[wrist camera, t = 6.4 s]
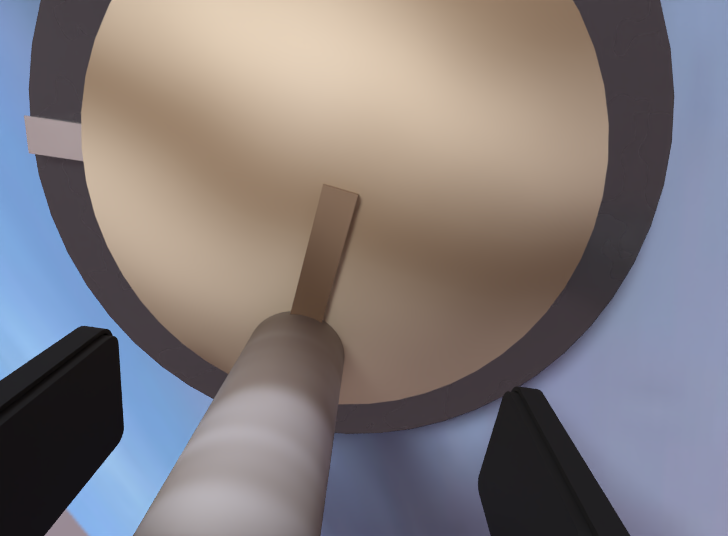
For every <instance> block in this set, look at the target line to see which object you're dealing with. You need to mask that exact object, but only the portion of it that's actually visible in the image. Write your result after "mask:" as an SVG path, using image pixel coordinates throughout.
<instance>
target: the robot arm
mask: <svg viewBox="0 0 728 536" xmlns="http://www.w3.org/2000/svg"><path fill="white" fill-rule="evenodd" d="M123 431H124V422H123V406H122V391H121V376H120V360H119V345H118V339H117V338H116V337H115V336H112V333H111V331H110V330H108V329H102V328H95V327H88V326H81V327H79V328H77V329H75V330H74V331H72V332H71V333H69V334H68V335H67V336H65V337H64V338H62V339H61V340H59V341H58V342H56V343H55V344H53V345H52V346H50V347H49V348H48V349H46V350H45V351H43V352H42V353H40V354H39V355H37V356H36V357H34V358H33V359H31V360H30V361H28V362H27V363H26V364H24V365H23V366H21V367H20V368H18V369H17V370H15V371H14V372H12V373H11V374H9V375H8V376H7V377H5V378H4V379H2V380H1V381H0V536H44V535H45V534H46V533H47V532H48V530H49V529H50V528H51V527H52V525H53V524H54V523H55V522H56V520H57V519H58V518H59V517H60V515H61V514H62V513H63V512H64V511H65V509H66V508H67V507H68V506H69V504H70V503H71V502H72V501H73V499H74V498H75V497H76V496H77V494H78V493H79V492H80V491H81V489H82V488H83V487H84V486H85V484H86V483H87V482H88V481H89V480H90V478H91V477H92V476H93V475H94V473H95V472H96V471H97V470H98V468H99V467H100V466H101V465H102V463H103V462H104V461H105V460H106V458H107V457H108V456H109V455H110V453H111V452H112V451H113V450H114V449H115V447H116V446H117V445H118V443H119V442H120V440H121V438H122V435H123ZM478 490H479V495H480V498H481V502H482V505H483V509H484V513H485V516H486V520H487V523H488V527H489V531H490V534H491V536H630V534H629V533H628V531H627V530H626V528H625V526H624V525H623V523H622V521H621V520H620V518H619V517H618V515H617V513H616V512H615V510H614V508H613V507H612V505H611V504H610V502H609V500H608V499H607V497H606V495H605V494H604V492H603V491H602V489H601V487H600V486H599V484H598V482H597V481H596V479H595V478H594V476H593V474H592V473H591V471H590V469H589V468H588V466H587V465H586V463H585V461H584V460H583V458H582V456H581V455H580V453H579V451H578V450H577V448H576V447H575V445H574V443H573V442H572V440H571V438H570V437H569V435H568V434H567V432H566V430H565V429H564V427H563V425H562V424H561V422H560V421H559V419H558V417H557V416H556V414H555V412H554V411H553V409H552V408H551V406H550V404H549V403H548V401H547V399H546V398H545V396H544V395H543V393H542V392H541V391H540V390H538V389H531V388H524V387H517V386H516V387H514V388H513V389H512V391H511V392H509V391H507V392H505V394H504V396H503V399H502V402H501V405H500V408H499V412H498V415H497V418H496V421H495V425H494V428H493V431H492V435H491V438H490V441H489V444H488V448H487V451H486V454H485V457H484V461H483V464H482V467H481V471H480V474H479V478H478Z"/></svg>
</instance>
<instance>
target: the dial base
mask: <svg viewBox="0 0 728 536" xmlns="http://www.w3.org/2000/svg"><path fill="white" fill-rule="evenodd" d="M573 1H574V3H575V5H576V6H577V8H578V10H579V12H580V14H581V17H582V19H583V21H584V24H585V26H586V29H587V31H588V34H589V36H590V38H591V41H592V43H593V46H594V48H595V52H596V56H597V60H598V64H599V67H600V71H601V75H602V79H603V83H604V88H605V96H606V105H607V113H608V122H609V134H608V164H607V171H606V178H605V185H604V192H603V197H602V201H601V204H600V208H599V211H598V215H597V218H596V222H595V226H594V229H593V231H592V234H591V236H590V239H589V241H588V243H587V246H586V248H585V250H584V253H583V255H582V258H581V260H580V262H579V263H578V265H577V267H576V269H575V270H574V272H573V274H572V276H571V277H570V279H569V281H568V283H567V284H566V286H565V288H564V289H563V291H562V292H561V293H560V295H559V296H558V297H557V299H556V300H555V301H554V303H553V304H552V305H551V307H550V308H549V309H548V311H547V312H546V313H545V314H544V315H543V316H542V317H541V319H540V320H539V321H538V322H537V323H536V324H535V325H534V326H533V327H532V328H531V329H530V330H529V331H528V332H527V333H526V334H525V335H524V336H523V337H522V338H521V339H520V340H518V341H517V342H516V343H515V344H514V345H512V346H511V347H510V348H509V349H508V350H506V351H505V352H504V353H503V354H502V355H500V356H499V357H497V358H496V359H494V360H492V361H491V362H489V363H488V364H486V365H485V366H483V367H482V368H480V369H479V370H477V371H475V372H473V373H471V374H469V375H467V376H465V377H463V378H461V379H459V380H457V381H455V382H453V383H451V384H449V385H446V386H443V387H441V388H438V389H435V390H432V391H430V392H427V393H424V394H420V395H416V396H412V397H408V398H404V399H400V400H395V401H387V402H379V403H372V404H338V410H337V417H336V425H335V432H334V433H344V434H355V433H383V432H390V431H398V430H406V429H413V428H417V427H421V426H425V425H429V424H433V423H437V422H441V421H445V420H448V419H451V418H453V417H456V416H459V415H462V414H465V413H467V412H470V411H473V410H476V409H478V408H480V407H482V406H484V405H486V404H488V403H490V402H492V401H494V400H496V399H498V398H500V397H502V396H504V394H505V392H507V391H509V392H511V391H512V389H513V388H514V387H516V386H517V387H519V386H520V385H522V384H524V383H525V382H527V381H528V380H530V379H531V378H533V377H535V376H536V375H537V374H539V373H540V372H541V371H542V370H544V369H545V368H546V367H547V366H549V365H550V364H551V363H552V362H554V361H555V360H556V359H557V358H558V357H560V356H561V355H562V354H563V353H565V352H566V350H567V349H568V348H569V347H570V346H571V345H572V344H573V343H574V342H575V341H576V340H577V339H578V338H579V337H580V336H581V335H582V334H583V333H584V332H585V331H586V330H587V329H588V328H589V327H590V326H591V325H592V323H593V322H594V321H595V320H596V318H597V317H598V316H599V315H600V313H601V312H602V311H603V309H604V308H605V307H606V306H607V304H608V303H609V302H610V300H611V299H612V298H613V297H614V295H615V293H616V292H617V290H618V288H619V287H620V285H621V283H622V282H623V280H624V279H625V277H626V275H627V274H628V272H629V270H630V269H631V267H632V265H633V264H634V262H635V260H636V257H637V255H638V253H639V251H640V249H641V246H642V244H643V242H644V240H645V238H646V235H647V233H648V231H649V229H650V227H651V224H652V221H653V218H654V214H655V211H656V208H657V205H658V202H659V199H660V195H661V192H662V189H663V186H664V181H665V176H666V170H667V165H668V159H669V154H670V148H671V143H672V127H673V108H674V87H673V74H672V62H671V49H670V44H669V39H668V35H667V30H666V26H665V21H664V16H663V12H662V7H661V3H660V0H573ZM110 2H111V0H41V2H40V7H39V12H38V17H37V22H36V27H35V32H34V37H33V41H32V51H31V66H30V81H29V100H30V116H24V118H25V126H26V134H27V142H28V150H29V153H31V154H35V156H36V161H37V167H38V172H39V177H40V180H41V183H42V187H43V190H44V193H45V196H46V199H47V203H48V206H49V209H50V212H51V216H52V218H53V220H54V222H55V225H56V227H57V229H58V231H59V234H60V236H61V238H62V241H63V243H64V245H65V247H66V250H67V252H68V254H69V255H70V257H71V259H72V261H73V262H74V264H75V266H76V267H77V269H78V271H79V273H80V274H81V276H82V278H83V279H84V281H85V283H86V285H87V286H88V287H89V289H90V290H91V291H92V293H93V294H94V296H95V297H96V298H97V300H98V301H99V302H100V304H101V305H102V306H103V308H104V309H105V310H106V312H107V313H108V314H109V316H110V317H111V318H112V319H113V320H114V321H115V322H116V323H117V324H118V325H119V327H120V328H121V329H122V330H123V331H124V332H125V333H126V334H127V335H128V336H129V337H130V338H131V340H132V341H133V342H134V343H135V344H137V345H138V346H139V347H140V348H141V349H142V350H143V351H145V352H146V353H147V354H148V355H149V356H150V357H151V358H153V359H154V360H155V361H156V362H157V363H158V364H160V365H161V366H162V367H163V368H165V369H166V370H168V371H169V372H171V373H172V374H173V375H175V376H176V377H178V378H179V379H181V380H182V381H183V382H185V383H186V384H188V385H189V386H191V387H193V388H194V389H196V390H198V391H200V392H202V393H204V394H205V395H207V396H209V397H211V398H213V399H214V398H215V396H216V395H217V393H218V391H219V389H220V388H221V386H222V384H223V383H224V381H225V379H226V378H227V376H228V373H226V372H224V371H222V370H221V369H219V368H217V367H215V366H214V365H212V364H210V363H208V362H207V361H205V360H204V359H203V358H201V357H200V356H199V355H197V354H196V353H194V352H193V351H192V350H190V349H189V348H188V347H186V346H185V345H184V344H182V343H181V342H180V341H179V340H178V339H177V338H176V337H175V336H174V335H173V334H171V333H170V332H169V331H168V330H167V329H166V328H165V327H164V326H163V325H162V324H161V323H160V322H159V321H158V320H157V319H156V318H155V317H154V315H153V314H152V313H151V312H150V311H149V310H148V309H147V307H146V306H145V305H144V304H143V303H142V302H141V301H140V299H139V298H138V296H137V295H136V293H135V292H134V290H133V289H132V288H131V286H130V285H129V283H128V282H127V280H126V279H125V277H124V276H123V275H122V273H121V271H120V269H119V267H118V265H117V263H116V262H115V260H114V258H113V256H112V254H111V252H110V250H109V249H108V247H107V244H106V242H105V239H104V237H103V234H102V232H101V229H100V227H99V224H98V222H97V219H96V217H95V213H94V210H93V206H92V202H91V198H90V194H89V191H88V187H87V183H86V176H85V169H84V162H83V155H82V141H81V109H82V101H83V93H84V84H85V76H86V72H87V68H88V64H89V60H90V56H91V52H92V49H93V45H94V41H95V38H96V35H97V33H98V31H99V28H100V26H101V23H102V21H103V18H104V16H105V14H106V11H107V9H108V6H109V4H110Z"/></svg>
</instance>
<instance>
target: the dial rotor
mask: <svg viewBox="0 0 728 536" xmlns="http://www.w3.org/2000/svg"><path fill="white" fill-rule="evenodd" d="M608 134H609V122H608V113H607V105H606V96H605V88H604V83H603V79H602V75H601V71H600V67H599V64H598V60H597V56H596V52H595V48H594V46H593V43H592V41H591V38H590V36H589V34H588V31H587V29H586V26H585V24H584V21H583V19H582V17H581V14H580V12H579V10H578V8H577V6H576V5H575V3H574V1H573V0H111V2H110V4H109V6H108V9H107V11H106V14H105V16H104V18H103V21H102V23H101V26H100V28H99V31H98V33H97V35H96V38H95V41H94V45H93V49H92V52H91V56H90V60H89V64H88V68H87V72H86V76H85V84H84V93H83V101H82V109H81V141H82V155H83V162H84V169H85V176H86V183H87V187H88V191H89V194H90V198H91V202H92V206H93V210H94V213H95V217H96V219H97V222H98V224H99V227H100V229H101V232H102V234H103V237H104V239H105V242H106V244H107V247H108V249H109V250H110V252H111V254H112V256H113V258H114V260H115V262H116V263H117V265H118V267H119V269H120V271H121V273H122V275H123V276H124V277H125V279H126V280H127V282H128V283H129V285H130V286H131V288H132V289H133V290H134V292H135V293H136V295H137V296H138V298H139V299H140V301H141V302H142V303H143V304H144V305H145V306H146V307H147V309H148V310H149V311H150V312H151V313H152V314H153V315H154V317H155V318H156V319H157V320H158V321H159V322H160V323H161V324H162V325H163V326H164V327H165V328H166V329H167V330H168V331H169V332H170V333H171V334H173V335H174V336H175V337H176V338H177V339H178V340H179V341H180V342H181V343H182V344H184V345H185V346H186V347H188V348H189V349H190V350H192V351H193V352H194V353H196V354H197V355H199V356H200V357H201V358H203V359H204V360H205V361H207V362H208V363H210V364H212V365H214V366H215V367H217V368H219V369H221V370H222V371H224V372H226V373H228V376H227V378H226V379H225V381H224V383H223V384H222V386H221V388H220V389H219V391H218V393H217V395H216V396H215V398H214V400H213V401H212V403H211V405H210V406H209V408H208V410H207V411H206V413H205V415H204V417H203V418H202V420H201V422H200V423H199V425H198V427H197V428H196V430H195V432H194V433H193V435H192V437H191V438H190V440H189V442H188V444H187V445H186V447H185V449H184V450H183V452H182V454H181V455H180V457H179V459H178V460H177V462H176V464H175V466H174V467H173V469H172V471H171V472H170V474H169V476H168V477H167V479H166V481H165V482H164V484H163V486H162V488H161V489H160V491H159V493H158V494H157V496H156V498H155V499H154V501H153V503H152V504H151V506H150V508H149V510H148V511H147V513H146V515H145V516H144V518H143V520H142V521H141V523H140V525H139V526H138V528H137V530H136V532H135V533H134V535H133V536H320V534H321V527H322V520H323V512H324V505H325V498H326V490H327V483H328V476H329V468H330V461H331V454H332V447H333V439H334V432H335V425H336V417H337V410H338V404H372V403H379V402H387V401H395V400H400V399H404V398H408V397H412V396H416V395H420V394H424V393H427V392H430V391H432V390H435V389H438V388H441V387H443V386H446V385H449V384H451V383H453V382H455V381H457V380H459V379H461V378H463V377H465V376H467V375H469V374H471V373H473V372H475V371H477V370H479V369H480V368H482V367H483V366H485V365H486V364H488V363H489V362H491V361H492V360H494V359H496V358H497V357H499V356H500V355H502V354H503V353H504V352H505V351H506V350H508V349H509V348H510V347H511V346H512V345H514V344H515V343H516V342H517V341H518V340H520V339H521V338H522V337H523V336H524V335H525V334H526V333H527V332H528V331H529V330H530V329H531V328H532V327H533V326H534V325H535V324H536V323H537V322H538V321H539V320H540V319H541V317H542V316H543V315H544V314H545V313H546V312H547V311H548V309H549V308H550V307H551V305H552V304H553V303H554V301H555V300H556V299H557V297H558V296H559V295H560V293H561V292H562V291H563V289H564V288H565V286H566V284H567V283H568V281H569V279H570V277H571V276H572V274H573V272H574V270H575V269H576V267H577V265H578V263H579V262H580V260H581V258H582V255H583V253H584V250H585V248H586V246H587V243H588V241H589V239H590V236H591V234H592V231H593V229H594V226H595V222H596V218H597V215H598V211H599V208H600V204H601V201H602V197H603V192H604V185H605V178H606V171H607V164H608Z"/></svg>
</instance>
